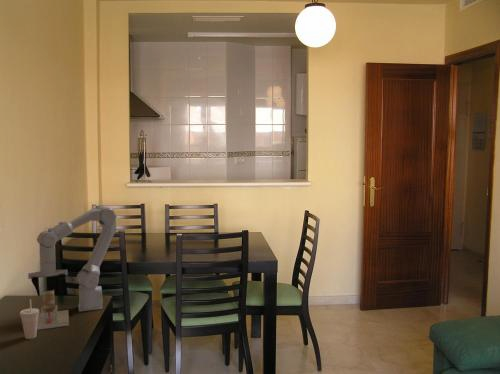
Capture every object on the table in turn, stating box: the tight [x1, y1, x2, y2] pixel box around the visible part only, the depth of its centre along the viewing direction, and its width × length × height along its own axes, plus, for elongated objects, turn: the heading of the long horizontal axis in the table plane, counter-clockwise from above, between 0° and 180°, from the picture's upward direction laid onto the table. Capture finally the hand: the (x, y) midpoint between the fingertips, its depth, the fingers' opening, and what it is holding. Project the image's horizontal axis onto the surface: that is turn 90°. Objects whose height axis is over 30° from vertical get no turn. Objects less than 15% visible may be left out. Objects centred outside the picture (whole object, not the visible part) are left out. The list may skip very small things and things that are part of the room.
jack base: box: [37, 304, 70, 331], centre depth 181 cm, size 14×14×6 cm
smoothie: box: [19, 298, 40, 340], centre depth 167 cm, size 6×6×14 cm
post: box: [42, 289, 56, 311], centre depth 181 cm, size 4×4×8 cm
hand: (49, 294), depth 186 cm, fingers open, 7 cm apart
